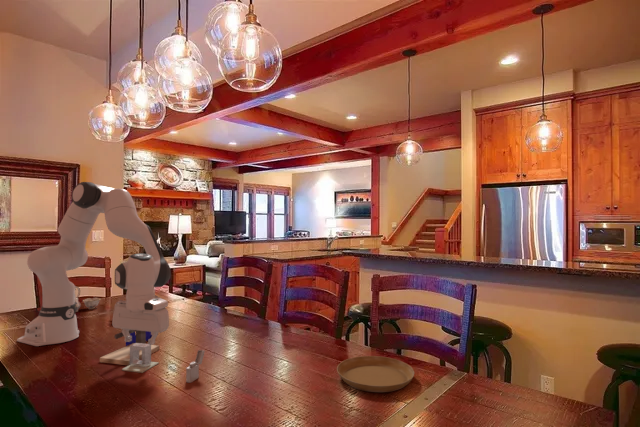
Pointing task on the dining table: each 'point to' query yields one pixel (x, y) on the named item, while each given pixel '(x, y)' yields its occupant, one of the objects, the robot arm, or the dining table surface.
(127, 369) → the felt pad
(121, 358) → the hook rack
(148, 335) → the blue notched block
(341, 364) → the plant saucer
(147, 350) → the pinkish grey hollow block
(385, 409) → the dining table surface
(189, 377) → the lighter
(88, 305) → the chinaware
